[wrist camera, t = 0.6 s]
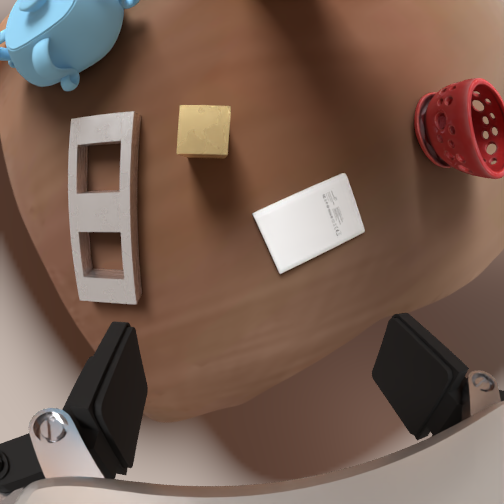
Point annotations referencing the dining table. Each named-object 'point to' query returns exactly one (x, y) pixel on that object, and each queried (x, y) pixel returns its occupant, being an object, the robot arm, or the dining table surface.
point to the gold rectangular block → (203, 131)
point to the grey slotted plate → (105, 207)
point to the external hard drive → (310, 222)
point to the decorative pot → (60, 37)
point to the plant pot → (462, 128)
